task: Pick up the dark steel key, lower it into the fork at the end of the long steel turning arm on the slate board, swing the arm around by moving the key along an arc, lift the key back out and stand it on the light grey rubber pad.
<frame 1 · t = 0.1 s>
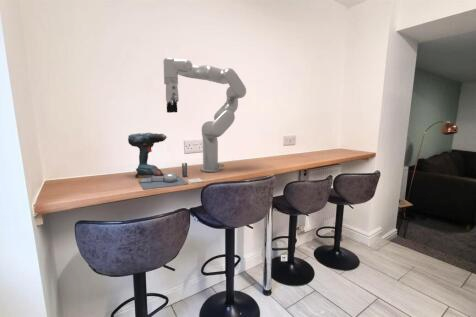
hand: (171, 112, 138), 37 cm above the table, tool pointing down, fingers open, 9 cm apart
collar: (158, 177, 126), point 2 cm above the table, hinge at 0.0°
pad: (195, 181, 129), on the table
board: (162, 182, 126), on the table
power drill: (150, 176, 137), on the table, touching board
key: (184, 176, 138), on the table
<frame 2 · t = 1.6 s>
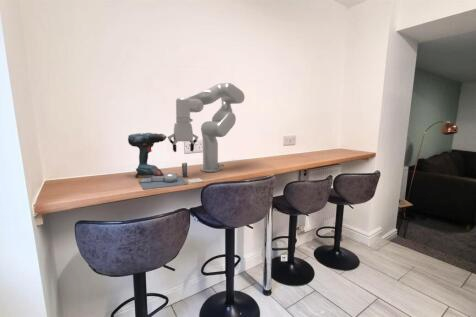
hand: (183, 151, 135), 15 cm above the table, tool pointing down, fingers open, 9 cm apart
nothing on the table moved.
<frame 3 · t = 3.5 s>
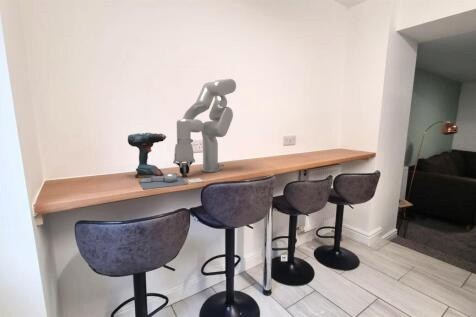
hand: (184, 173, 138), 2 cm above the table, tool pointing down, fingers closed on key, 2 cm apart
key: (184, 176, 138), on the table, touching gripper
everything else where it was.
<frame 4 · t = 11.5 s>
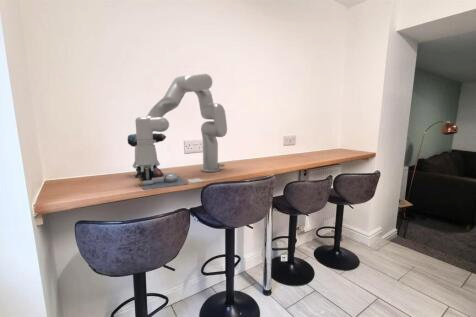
hand: (147, 178, 121), 3 cm above the table, tool pointing down, fingers closed on key, 2 cm apart
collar: (158, 178, 124), point 2 cm above the table, hinge at 22.5°, touching key
key: (147, 182, 121), point 1 cm above the table, touching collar, gripper
everything else where it was.
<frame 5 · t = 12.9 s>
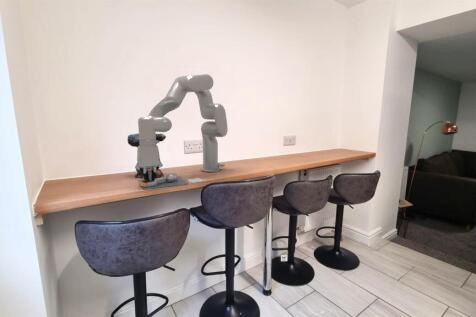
hand: (150, 179, 118), 3 cm above the table, tool pointing down, fingers closed on key, 2 cm apart
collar: (160, 179, 123), point 2 cm above the table, hinge at 40.5°, touching key
key: (150, 184, 119), point 1 cm above the table, touching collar, gripper
everything else where it was.
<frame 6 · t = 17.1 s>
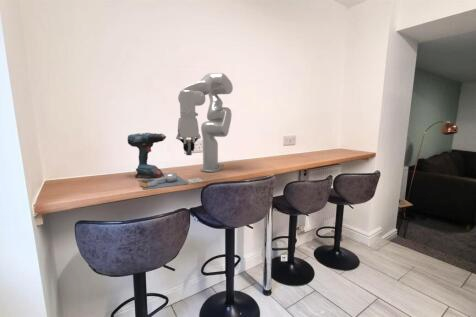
hand: (189, 150, 125), 17 cm above the table, tool pointing down, fingers closed on key, 2 cm apart
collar: (160, 179, 123), point 2 cm above the table, hinge at 41.1°
key: (188, 154, 126), point 14 cm above the table, touching gripper
everything else where it was.
when the fingers open (3 cm above the table, at t = 21.0 s): key stays where it is, resting on pad.
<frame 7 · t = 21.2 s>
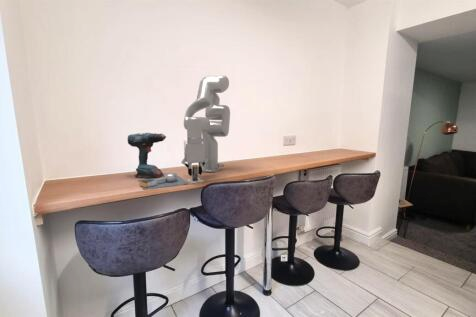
hand: (195, 174, 128), 4 cm above the table, tool pointing down, fingers open, 4 cm apart
key: (195, 180, 129), resting on pad
everything else where it was.
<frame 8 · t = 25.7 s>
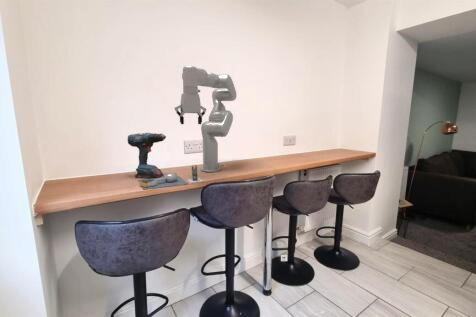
hand: (191, 124, 128), 30 cm above the table, tool pointing down, fingers open, 9 cm apart
nothing on the table moved.
at the end: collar at +41° (first picture: +0°); key inside the target area on the pad (0.4 cm from its centre), point 0.4 cm above the pad's base; key tilted 2° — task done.
